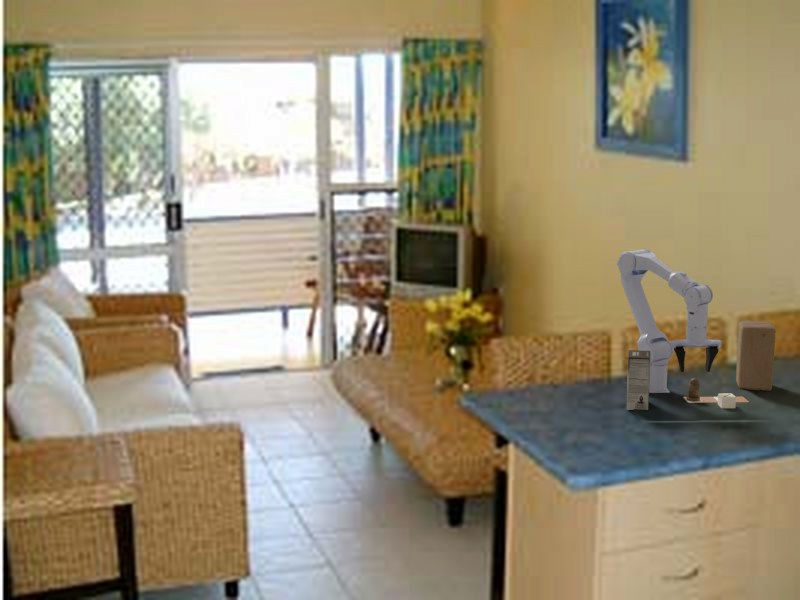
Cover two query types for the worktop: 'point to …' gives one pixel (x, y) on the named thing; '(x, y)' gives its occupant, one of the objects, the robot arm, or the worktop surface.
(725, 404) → the die
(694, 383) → the pawn
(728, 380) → the worktop surface
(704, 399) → the board
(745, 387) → the wooden block
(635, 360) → the coffee box
